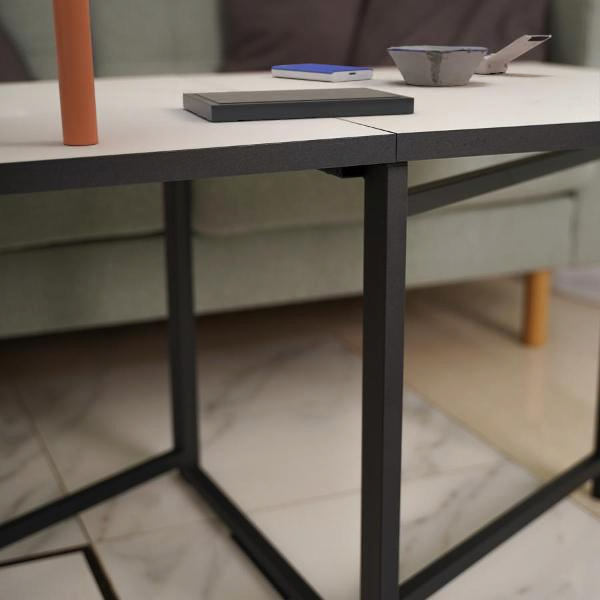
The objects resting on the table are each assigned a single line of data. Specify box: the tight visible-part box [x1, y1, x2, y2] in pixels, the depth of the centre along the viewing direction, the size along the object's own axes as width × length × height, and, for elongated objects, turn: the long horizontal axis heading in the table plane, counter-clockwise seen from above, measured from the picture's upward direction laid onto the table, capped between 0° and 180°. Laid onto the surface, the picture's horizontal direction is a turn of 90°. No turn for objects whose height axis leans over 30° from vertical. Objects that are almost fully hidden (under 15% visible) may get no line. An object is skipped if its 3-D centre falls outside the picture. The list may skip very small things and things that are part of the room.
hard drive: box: [271, 63, 374, 83], centre depth 129 cm, size 2×8×12 cm
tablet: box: [182, 87, 415, 123], centre depth 90 cm, size 20×12×2 cm, turn 109°
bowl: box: [386, 44, 490, 87], centre depth 120 cm, size 13×13×5 cm
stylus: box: [51, 0, 99, 146], centre depth 68 cm, size 3×3×12 cm
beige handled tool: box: [474, 34, 552, 75], centre depth 139 cm, size 6×6×25 cm
